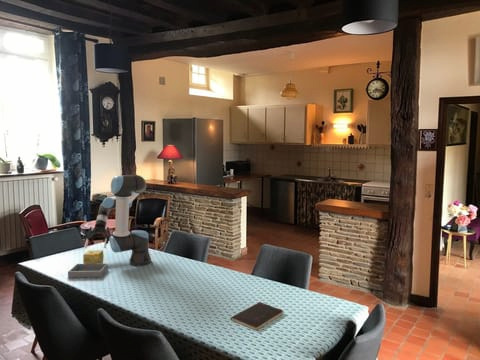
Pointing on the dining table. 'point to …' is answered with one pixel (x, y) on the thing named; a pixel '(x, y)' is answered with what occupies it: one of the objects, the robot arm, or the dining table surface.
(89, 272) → the bin
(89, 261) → the cheese
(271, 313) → the hardcover book
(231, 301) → the dining table surface
